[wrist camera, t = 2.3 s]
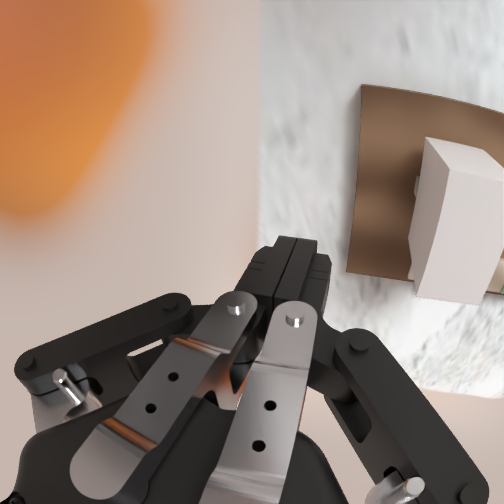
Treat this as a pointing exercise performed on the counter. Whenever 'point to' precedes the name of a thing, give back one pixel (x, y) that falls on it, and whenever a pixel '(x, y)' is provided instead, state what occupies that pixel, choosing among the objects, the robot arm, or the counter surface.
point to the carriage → (456, 222)
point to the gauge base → (407, 171)
